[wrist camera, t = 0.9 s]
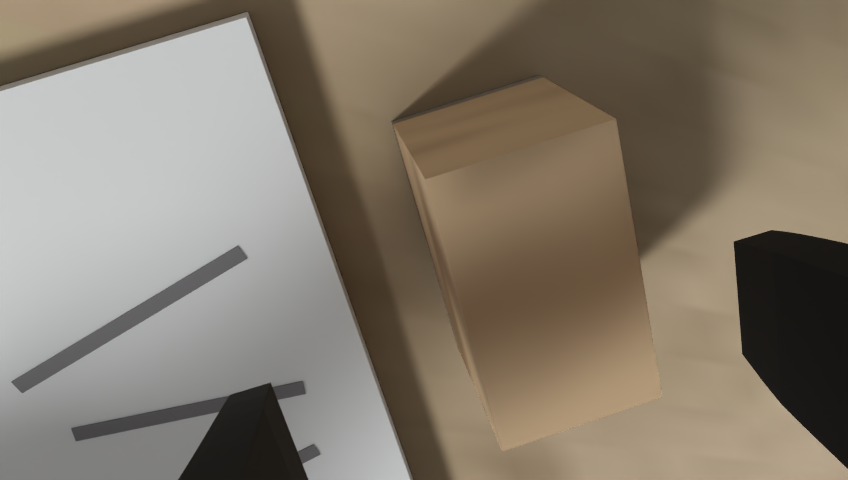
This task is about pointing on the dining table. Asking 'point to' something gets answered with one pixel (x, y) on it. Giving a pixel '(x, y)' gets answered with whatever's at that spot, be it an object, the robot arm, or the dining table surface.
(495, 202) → the block
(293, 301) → the board
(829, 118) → the dining table surface
